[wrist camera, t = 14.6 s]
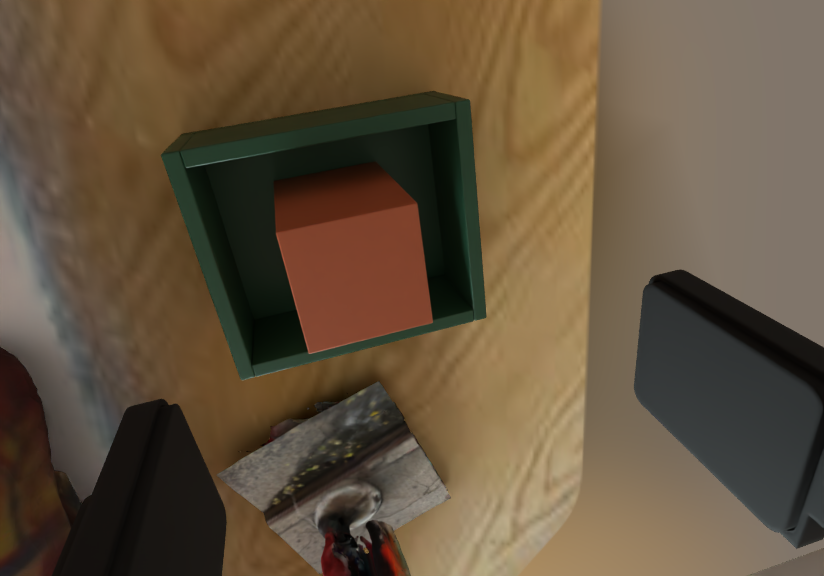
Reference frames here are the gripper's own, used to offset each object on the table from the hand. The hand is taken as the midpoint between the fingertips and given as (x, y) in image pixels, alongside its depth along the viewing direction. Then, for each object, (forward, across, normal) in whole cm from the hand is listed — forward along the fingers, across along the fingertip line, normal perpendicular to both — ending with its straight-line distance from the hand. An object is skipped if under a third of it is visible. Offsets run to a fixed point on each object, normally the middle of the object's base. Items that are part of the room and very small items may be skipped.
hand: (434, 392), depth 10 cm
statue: (+15, +3, +16) cm, 22 cm away
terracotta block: (+14, +1, +1) cm, 14 cm away
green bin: (+15, 0, +1) cm, 15 cm away
